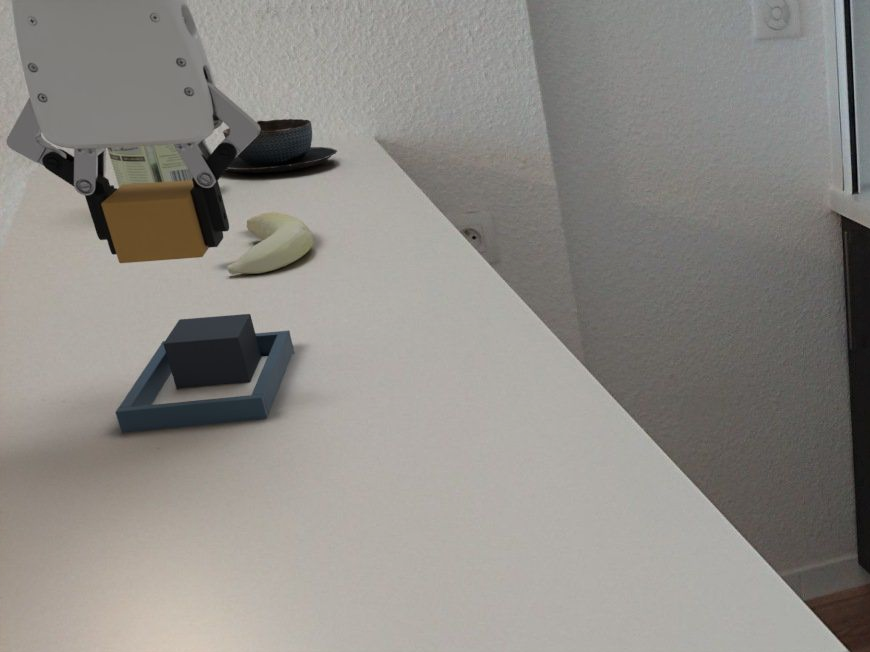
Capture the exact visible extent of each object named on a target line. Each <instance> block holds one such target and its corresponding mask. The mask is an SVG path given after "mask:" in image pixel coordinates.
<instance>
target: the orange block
mask: <svg viewBox="0 0 870 652" xmlns="http://www.w3.org/2000/svg"><path fill="white" fill-rule="evenodd" d="M193 187H194V185H193V181H192V180H189V181H172V182H155V183H138V184H123V185H121V186H120V187H119V186H118V188H117V190H116V191H115V192H114V193H113V194H111V195H110V196H109V197H108V198H107V199H106V200H105V201H103V202H102V203H101V205H102V208H103V212H104V215H105V218H106V221H107V225H108V228H109V231H110V234H111V238H112V241H113V244H114V247H115V251H116V254H115V255H116V257H117V261H118V263H119V264H131V263H143V262H157V261H158V262H159V261H169V260H170V261H171V260H184V259H197V258H204V255H205V254H206V253H207V252H208V250H209V249H210V248H209V247H208V246H206V245H205V243H204V240H203V236H202V232H201V229H200V225H199V221H198V218H197V214H196V210H195V207H194V203H193V199H192V196H191V193H190V190H191V189H192V188H193Z"/></svg>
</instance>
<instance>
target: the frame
mask: <svg viewBox="0 0 870 652" xmlns="http://www.w3.org/2000/svg"><path fill="white" fill-rule="evenodd" d="M255 334H256V338H257V342H258V346H259V350H260V354H261V358H263V357H267V358H266V359H265V362H264V365H263V367H262V369H261V371H260V374H259V375H258V378H257V381H256V382H255V385H254V387H253V390H252V393H251V394H248V395H240V396H238V395H237V396H229V397H219V398H207V399H198V400H187V401H176V402H166V403H156V404H153V403H154V402H155V400H156V398H157V397H158V395H159V393H160V392H161V390H162V388H163V387H164V385H165V383H166V382H167V380H168V378H169V377H170V375H171V374H172V372H171V368H170V365H169V362H168V358H167V355H166V351H165V348H164V344H163V343H164V342H165V340H163V341H162V342H161V343H160V345H159V346H158V348H157V350H156V351H155V352H154V354H153V355H152V357H151V358H150V360H149V362H148V363H147V364H146V366H145V368H143V371H142V372H141V373H140V375H139V376H138V378H137V379H136V381H135V382H134V383H133V385H132V387H131V388H130V389H129V392H128V393H127V395H126V396H125V397H124V399H123V400H122V402H121V403H120V405H119V406H118V407H117V409H116V410H115V412H114V413H115V415H116V419H117V422H118V426H119V428H120V431H121V433H122V434H127V433H136V432H137V433H138V432H145V431H156V430H166V429H176V428H187V427H196V426H206V425H215V424H226V423H236V422H244V421H253V420H254V421H257V420H263V419H268V417H269V414H270V412H271V409H272V406H273V404H274V401H275V399H276V396H277V393H278V392H279V389H280V386H281V383H282V381H283V378H284V375H285V374H286V370H287V367H288V365H289V363H290V360H291V358H292V356H293V355H295V348H294V345H293V340H292V336H291V332H290V330H280V331H267V332H257V333H256V332H255Z"/></svg>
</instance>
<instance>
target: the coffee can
mask: <svg viewBox="0 0 870 652" xmlns="http://www.w3.org/2000/svg"><path fill="white" fill-rule="evenodd" d="M204 141H205V143H206V144H207V142H206V139H204ZM106 150H107V152H108V156H109V159H110V162H111V165H112V170H113V172H114V175H115V179H116V182H117V186H118V188H119V187H120V186H121V185H123V184H138V183H155V182H172V181H189V180H192V178H193V176H192V174H191V173H190V171H189V169H188V168H187V166H186V165H185V163H184V161H183V160H182V158H181V156H180V155H179V153H178V151H177V150H176V148H175V146H174V145H173V144H170V145H151V146H133V147H113V148H106Z"/></svg>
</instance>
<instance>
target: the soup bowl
mask: <svg viewBox="0 0 870 652" xmlns="http://www.w3.org/2000/svg"><path fill="white" fill-rule="evenodd" d="M256 122H257V123H258V124H259V126H260V128H261V131H260V133H259V135H258V136H257V137H256V138H255V139H254V140H253V141H252V142H251V143H250V144H249V145H248V146H247V147H246V148H245V149H244V150H243V151H242V152H241V153H240V154H239V155H238V156H237V157H236V158H235V159H234V160H233V162H232V163H231V164H230V165H229V167H228V168H227V169H226V171H230V172H235V173H241V174H242V173H243V174H270V173H280V172H288V171H294V170H300V169H303V168H309V167H312V166H317V165H318V164H321V163H322V162H324V161H327V160H328V159H330V158H331V157H332V156H333V155H335V154H337V152H338V149H336V148H332V147H325V146H324V147H323V146H312V143H313V126H312V121H311V120H309V119H302V118H300V119H299V118H298V119H297V118H295V119H294V118H289V119H287V118H285V119H284V118H283V119H269V120H261V119H258V120H257V121H256ZM222 133H223V136H224V139H225V138H226V137H227V136H228V135H229V133H230V129H229V128H226V129H224V130H223V131H222Z"/></svg>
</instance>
